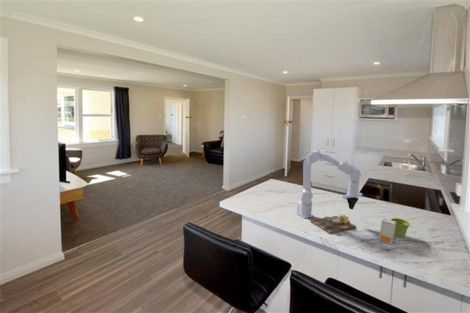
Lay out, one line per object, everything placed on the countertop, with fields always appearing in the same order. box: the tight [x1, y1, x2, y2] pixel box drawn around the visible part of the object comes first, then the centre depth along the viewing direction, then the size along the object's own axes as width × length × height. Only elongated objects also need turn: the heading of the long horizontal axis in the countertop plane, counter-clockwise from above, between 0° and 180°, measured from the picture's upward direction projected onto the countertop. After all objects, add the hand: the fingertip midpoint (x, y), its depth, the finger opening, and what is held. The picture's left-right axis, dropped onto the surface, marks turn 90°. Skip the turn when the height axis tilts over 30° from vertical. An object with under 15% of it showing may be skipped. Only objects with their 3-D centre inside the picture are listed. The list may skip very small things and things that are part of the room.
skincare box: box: [378, 218, 396, 245], centre depth 139 cm, size 6×4×12 cm
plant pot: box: [390, 217, 411, 239], centre depth 147 cm, size 9×9×9 cm
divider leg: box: [338, 214, 349, 225], centre depth 158 cm, size 5×3×5 cm, turn 24°
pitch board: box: [310, 215, 357, 234], centre depth 158 cm, size 16×21×7 cm
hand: (351, 208), depth 161 cm, fingers closed
